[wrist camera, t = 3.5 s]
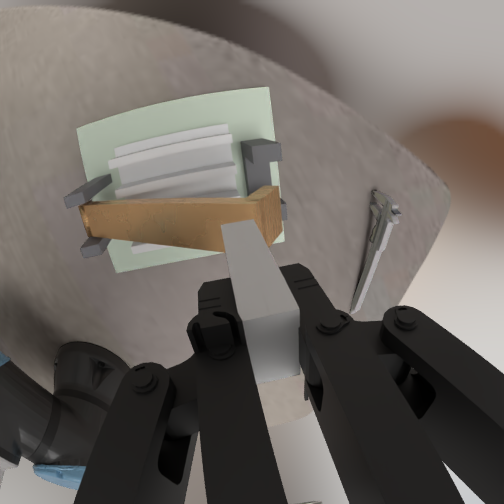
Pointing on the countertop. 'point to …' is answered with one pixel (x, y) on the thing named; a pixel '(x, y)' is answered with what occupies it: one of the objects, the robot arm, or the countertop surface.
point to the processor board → (168, 120)
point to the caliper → (376, 242)
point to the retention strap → (183, 219)
